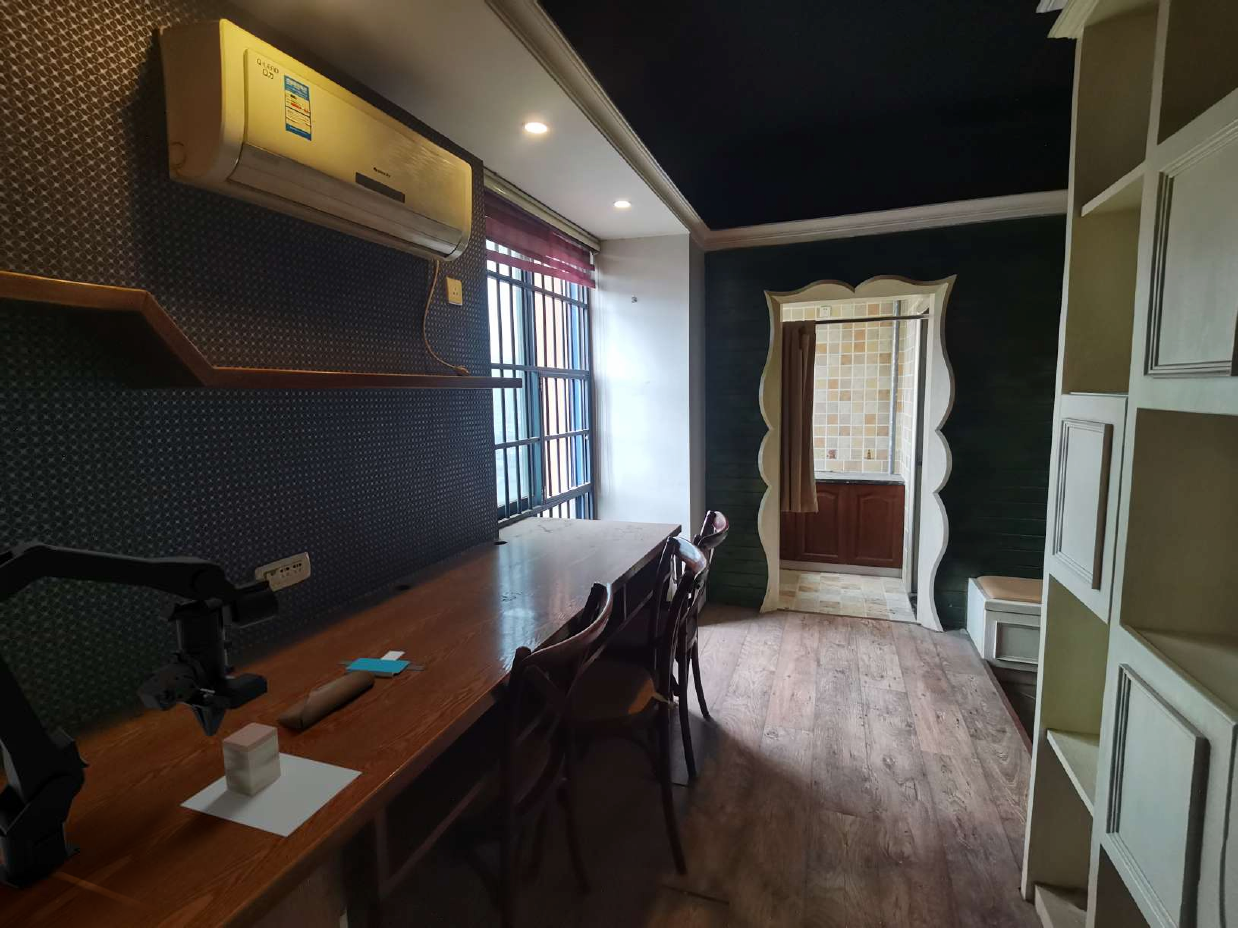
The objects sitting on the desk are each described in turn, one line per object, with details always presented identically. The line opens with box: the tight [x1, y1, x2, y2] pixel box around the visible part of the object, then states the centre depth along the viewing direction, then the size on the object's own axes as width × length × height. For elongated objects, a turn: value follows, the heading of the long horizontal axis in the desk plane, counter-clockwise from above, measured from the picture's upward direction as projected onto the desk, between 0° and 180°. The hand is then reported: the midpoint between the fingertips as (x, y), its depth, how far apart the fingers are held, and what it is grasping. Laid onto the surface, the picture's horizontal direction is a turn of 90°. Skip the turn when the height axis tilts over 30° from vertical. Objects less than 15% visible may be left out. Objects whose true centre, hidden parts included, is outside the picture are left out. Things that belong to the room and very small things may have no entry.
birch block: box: [221, 721, 281, 797], centre depth 89 cm, size 5×5×8 cm
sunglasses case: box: [274, 670, 376, 732], centre depth 113 cm, size 18×7×7 cm
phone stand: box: [337, 650, 425, 678], centre depth 129 cm, size 20×12×2 cm, turn 81°
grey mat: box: [179, 752, 363, 838], centre depth 88 cm, size 20×14×1 cm
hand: (211, 734), depth 91 cm, fingers closed
